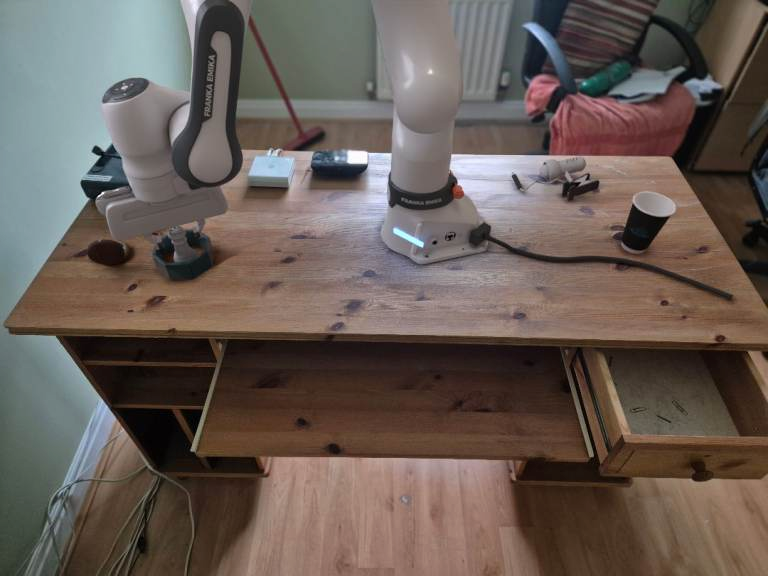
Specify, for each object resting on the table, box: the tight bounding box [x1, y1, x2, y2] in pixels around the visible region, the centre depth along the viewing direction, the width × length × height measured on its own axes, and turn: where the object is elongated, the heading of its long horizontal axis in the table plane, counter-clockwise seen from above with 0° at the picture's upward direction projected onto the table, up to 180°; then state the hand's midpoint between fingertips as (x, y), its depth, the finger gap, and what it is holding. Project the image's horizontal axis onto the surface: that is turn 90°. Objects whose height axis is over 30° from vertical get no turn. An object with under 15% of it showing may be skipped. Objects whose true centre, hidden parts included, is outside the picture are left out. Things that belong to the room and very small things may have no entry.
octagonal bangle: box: [151, 228, 216, 282], centre depth 96 cm, size 10×10×4 cm
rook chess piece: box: [167, 225, 198, 263], centre depth 95 cm, size 4×4×8 cm
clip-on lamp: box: [510, 156, 601, 202], centre depth 116 cm, size 12×6×18 cm
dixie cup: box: [620, 191, 677, 255], centre depth 100 cm, size 8×8×11 cm
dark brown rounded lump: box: [85, 238, 132, 266], centre depth 95 cm, size 8×8×7 cm
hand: (179, 241), depth 94 cm, fingers open, 6 cm apart
